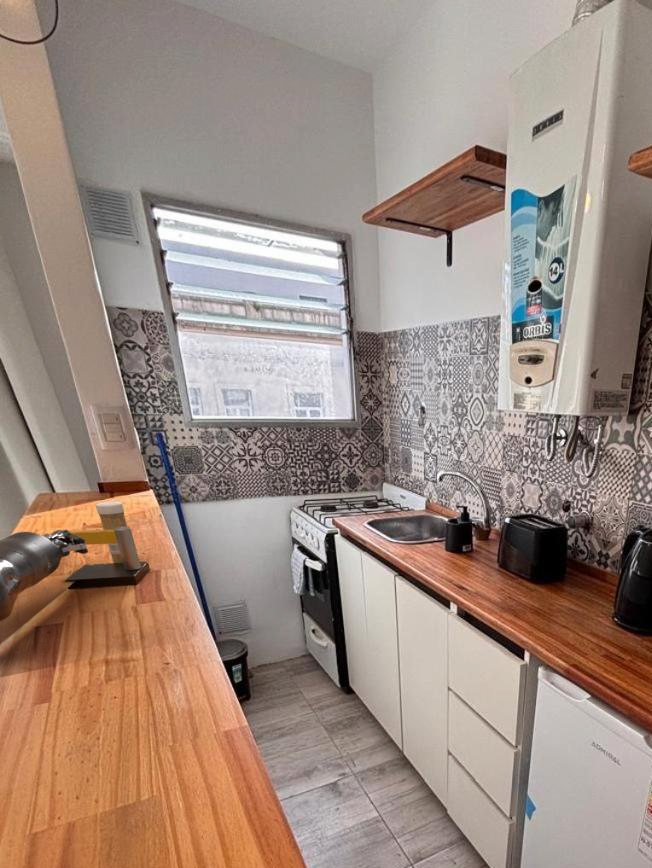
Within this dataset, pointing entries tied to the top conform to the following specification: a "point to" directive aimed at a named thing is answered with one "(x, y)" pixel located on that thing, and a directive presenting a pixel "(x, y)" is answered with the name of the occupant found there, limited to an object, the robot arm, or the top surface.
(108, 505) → the sprinkles bottle
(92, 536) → the gas tap
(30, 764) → the top surface
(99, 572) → the stove plate
